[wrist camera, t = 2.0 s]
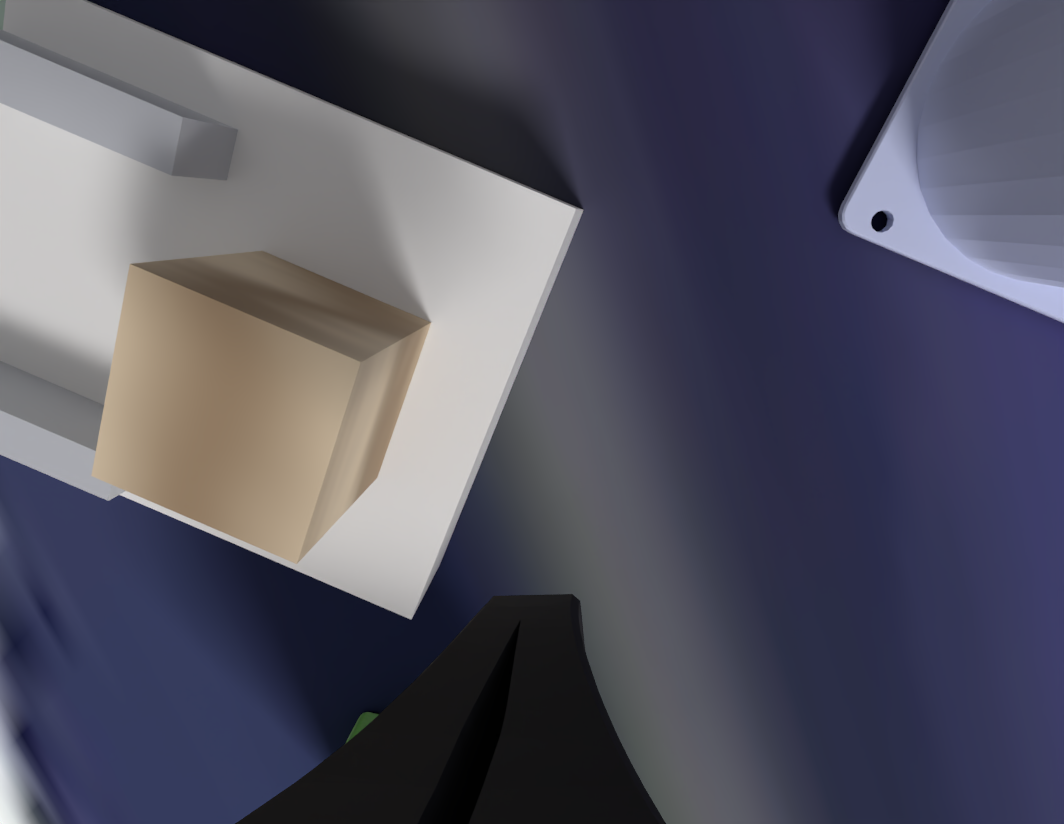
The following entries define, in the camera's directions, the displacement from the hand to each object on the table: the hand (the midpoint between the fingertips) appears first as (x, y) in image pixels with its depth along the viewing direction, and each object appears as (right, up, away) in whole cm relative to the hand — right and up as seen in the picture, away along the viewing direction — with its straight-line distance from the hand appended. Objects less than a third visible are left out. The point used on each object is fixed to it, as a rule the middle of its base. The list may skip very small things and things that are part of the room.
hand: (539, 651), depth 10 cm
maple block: (-6, +5, +7) cm, 10 cm away
